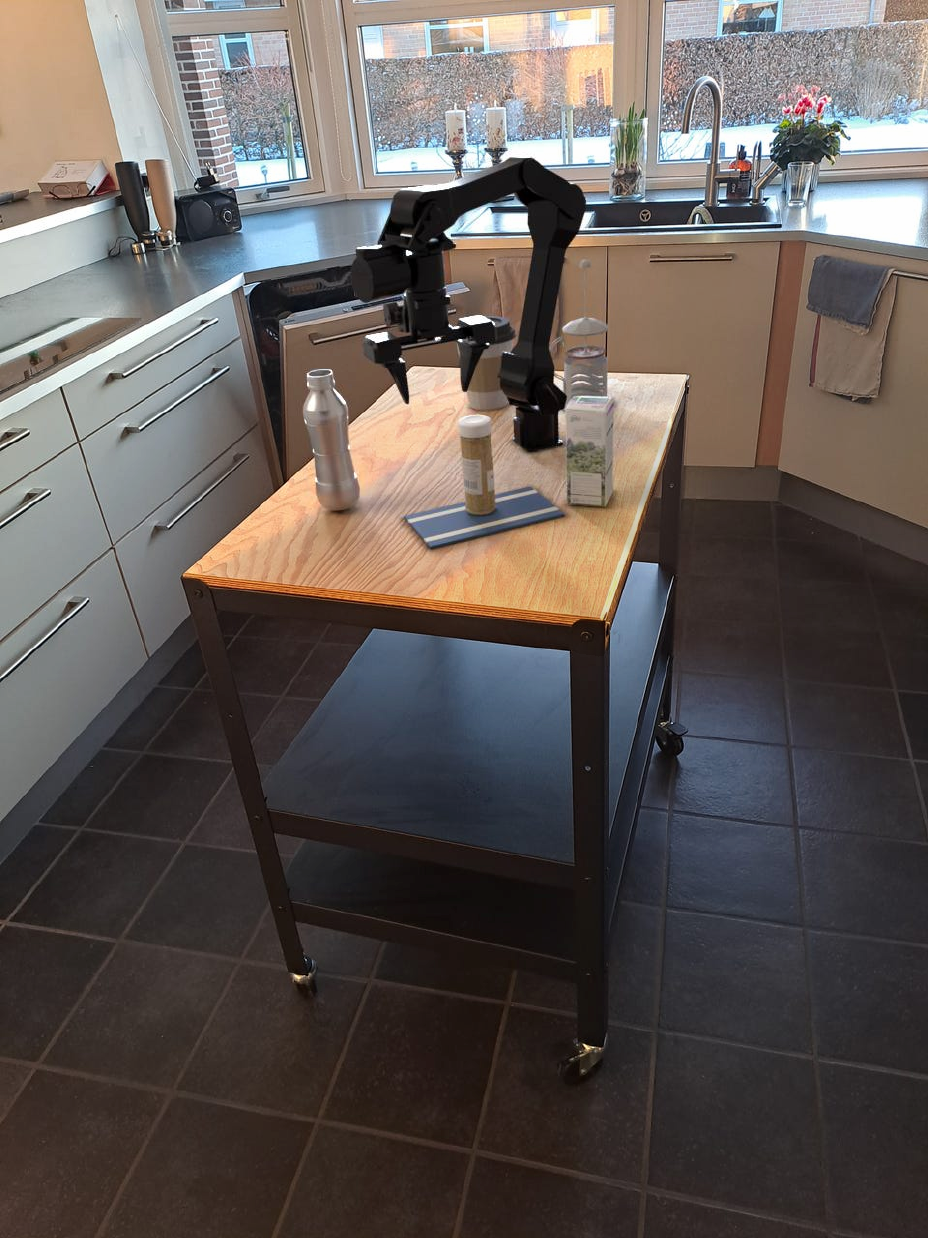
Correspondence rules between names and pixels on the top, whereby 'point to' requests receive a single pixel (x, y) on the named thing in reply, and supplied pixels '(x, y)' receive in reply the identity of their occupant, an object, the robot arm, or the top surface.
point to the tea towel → (482, 518)
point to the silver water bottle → (330, 442)
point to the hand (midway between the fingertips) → (435, 397)
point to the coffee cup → (491, 369)
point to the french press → (584, 356)
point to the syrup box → (589, 450)
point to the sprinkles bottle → (477, 464)
